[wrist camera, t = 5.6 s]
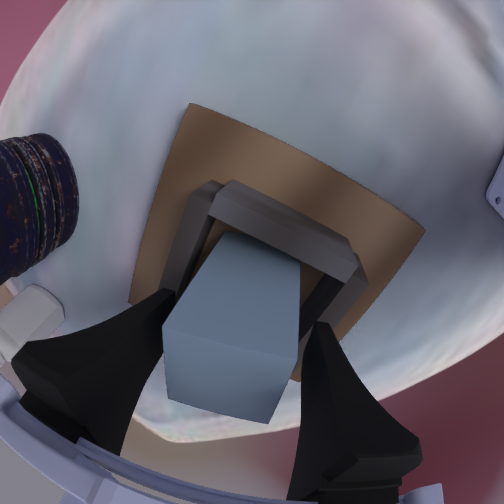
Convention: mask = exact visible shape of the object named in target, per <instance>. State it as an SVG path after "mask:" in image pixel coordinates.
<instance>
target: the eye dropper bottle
mask: <svg viewBox="0 0 504 504" xmlns="http://www.w3.org/2000/svg"><path fill="white" fill-rule="evenodd" d="M63 321H64V312H63V307H62V305H61V304H60V302H59V301H58V300H57V299H56V298H55V297H54V296H53V295H52V294H50V293H49V292H48V291H46V290H45V289H43V288H41V287H39V286H37V285H29V286H28V287H26V288H25V289H24V290H23V291H22V292H20V293H19V294H18V295H17V296H16V297H15V298H13V299H12V300H11V301H10V302H9V303H8V304H7V305H6V306H4V307H3V308H2V309H1V310H0V367H1V366H2V365H3V364H4V362H5V361H4V360H7V361H9V362H11V359H12V358H13V357H14V355H15V354H16V353H17V352H18V351H19V350H20V349H21V348H22V347H23V345H24V344H25V343H26V342H27V341H34V340H42V339H48V338H49V336H50V335H51V334H52V333H53V332H54V331H55V330H56V329H57V328H58V327H59V326H60V325H61V324H62V323H63Z"/></svg>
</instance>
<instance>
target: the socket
mask: <svg viewBox="0 0 504 504" xmlns="http://www.w3.org/2000/svg"><path fill="white" fill-rule="evenodd" d="M225 231H231V232H235V233H240V234H245V235H249V236H253V237H255V238H257V239H259V240H261V241H263V242H265V243H267V244H269V245H271V246H273V247H275V248H277V249H279V250H281V251H283V252H285V253H287V254H289V255H291V256H293V257H295V258H297V259H299V260H300V302H299V333H298V356H297V362H296V364H295V366H294V369H293V371H292V373H291V376H290V378H289V379H292V380H294V381H297V382H300V381H301V368H302V359H303V352H304V350H305V347H306V344H307V342H308V339H309V336H310V334H311V331H312V328H313V326H314V323H315V321H320V322H326V323H329V324H330V326H331V328H332V330H333V332H334V334H335V336H336V338H337V340H338V342H339V341H340V340H341V339H342V338H343V337H344V336H345V335H346V334H347V333H348V331H349V330H350V329H351V328H352V327H353V326H354V325H355V323H356V322H357V321H358V320H359V319H360V318H361V317H362V315H363V314H364V313H365V312H366V311H367V309H368V308H369V307H370V306H371V305H372V303H373V302H374V301H375V300H376V298H377V297H378V296H379V295H380V293H381V292H382V291H383V290H384V288H385V287H386V286H387V284H388V283H389V282H390V281H391V279H392V278H393V277H394V275H395V274H396V273H397V271H398V270H399V269H400V267H401V266H402V264H403V263H404V262H405V260H406V259H407V257H408V256H409V255H410V253H411V252H412V250H413V249H414V247H415V246H416V245H417V243H418V242H419V240H420V239H421V237H422V236H423V234H424V233H425V231H426V230H425V229H424V228H423V227H422V226H421V225H420V224H419V223H417V222H416V221H415V220H413V219H412V218H410V217H409V216H408V215H406V214H405V213H403V212H402V211H400V210H399V209H398V208H396V207H395V206H393V205H392V204H390V203H389V202H387V201H386V200H384V199H383V198H381V197H380V196H378V195H376V194H375V193H373V192H372V191H370V190H369V189H367V188H365V187H364V186H362V185H361V184H359V183H357V182H356V181H354V180H352V179H351V178H349V177H347V176H346V175H344V174H342V173H340V172H339V171H337V170H335V169H334V168H332V167H330V166H328V165H326V164H325V163H323V162H321V161H319V160H317V159H316V158H314V157H312V156H310V155H308V154H306V153H304V152H302V151H300V150H299V149H297V148H295V147H293V146H291V145H289V144H287V143H285V142H283V141H281V140H279V139H277V138H274V137H272V136H270V135H268V134H266V133H264V132H262V131H260V130H257V129H255V128H253V127H251V126H249V125H246V124H244V123H242V122H239V121H237V120H235V119H232V118H230V117H228V116H225V115H223V114H220V113H218V112H215V111H213V110H210V109H208V108H205V107H203V106H200V105H197V104H192V103H189V105H188V108H187V110H186V112H185V115H184V117H183V120H182V122H181V125H180V127H179V130H178V132H177V135H176V137H175V140H174V142H173V145H172V148H171V150H170V153H169V156H168V159H167V161H166V164H165V167H164V170H163V173H162V176H161V179H160V182H159V185H158V188H157V191H156V194H155V197H154V201H153V204H152V207H151V210H150V214H149V217H148V221H147V224H146V228H145V231H144V235H143V239H142V243H141V247H140V250H139V254H138V259H137V263H136V267H135V271H134V276H133V280H132V285H131V290H130V294H129V299H128V303H130V304H132V305H133V306H134V305H136V304H137V303H139V302H141V301H142V300H144V299H146V298H147V297H149V296H150V295H152V294H154V293H155V292H157V291H158V290H160V289H162V288H166V289H170V290H174V291H176V304H177V302H178V301H179V299H180V298H181V296H182V295H183V293H184V292H185V290H186V289H187V287H188V286H189V284H190V283H191V281H192V280H193V278H194V277H195V275H196V274H197V272H198V271H199V269H200V268H201V266H202V265H203V264H204V262H205V261H206V259H207V258H208V256H209V255H210V253H211V252H212V250H213V249H214V247H215V246H216V244H217V243H218V242H219V240H220V239H221V237H222V236H223V234H224V233H225Z"/></svg>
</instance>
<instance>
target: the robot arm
mask: <svg viewBox="0 0 504 504" xmlns="http://www.w3.org/2000/svg"><path fill="white" fill-rule="evenodd" d="M496 198H497V201H496V202H495V200H496ZM486 199H487V201H488V202H489V203H490V204H491V205H492V206H493V207H494V209H495V210H496V211H497V212H498V213H499V214H500V215H501V217H502V218H503V219H504V156H503V158H502V160H501V163H500V165H499V167H498V169H497V171H496V173H495V175H494V178H493V180H492V182H491V184H490V186H489V188H488V189H487V192H486ZM175 306H176V291H174V290H170V289H166V288H162V289H160V290H158V291H157V292H155V293H154V294H152V295H150V296H149V297H147V298H146V299H144V300H142V301H141V302H139V303H137V304H136V305H134V306H132V307H131V308H129V309H127V310H125V311H123V312H122V313H120V314H118V315H116V316H114V317H112V318H110V319H108V320H106V321H104V322H102V323H99V324H97V325H94V326H92V327H89V328H87V329H83V330H80V331H77V332H74V333H71V334H67V335H63V336H59V337H54V338H49V339H42V340H34V341H27V342H26V343H25V344H24V345H23V347H22V348H21V349H20V350H19V351H18V352H17V353H16V354H15V355H14V357H13V358H12V359H11V365H12V368H13V369H14V371H15V373H16V374H17V376H18V377H19V379H20V381H21V382H22V384H23V385H24V387H25V388H26V390H27V391H26V392H25V394H24V395H23V396H22V397H21V396H20V395H19V393H18V391H17V390H16V388H15V387H14V386H13V385H12V384H11V383H10V382H9V381H8V380H7V379H6V378H5V377H3V376H2V375H1V374H0V438H1V439H2V440H3V441H4V442H5V443H6V444H7V445H8V446H9V447H11V448H12V449H13V450H14V451H15V452H16V453H17V454H18V455H19V456H21V457H22V458H23V459H24V460H25V461H27V462H28V463H29V464H30V465H31V466H33V467H34V468H35V469H36V470H38V471H39V472H40V473H42V474H43V475H44V476H46V477H47V478H48V479H50V480H51V481H52V482H54V483H55V484H57V485H58V486H60V487H61V488H63V489H64V490H66V492H65V493H64V495H63V497H62V499H61V501H60V503H59V504H177V503H174V502H171V501H168V500H165V499H162V498H159V497H156V496H153V495H151V494H148V493H145V492H142V491H140V490H137V489H135V488H132V487H129V486H127V485H125V484H122V483H120V482H119V481H118V480H116V479H115V478H114V477H113V476H112V474H111V473H110V472H108V471H106V470H105V469H107V470H109V471H111V472H113V473H115V474H117V475H120V476H122V477H124V478H126V479H128V480H131V481H133V482H135V483H138V484H140V485H143V486H145V487H148V488H150V489H153V490H156V491H158V492H161V493H164V494H167V495H170V496H173V497H176V498H180V499H183V500H186V501H190V502H193V503H197V504H444V501H443V492H442V484H441V483H438V484H434V485H430V486H425V487H421V488H418V489H415V490H412V491H410V492H408V493H407V494H405V495H403V496H399V494H398V487H399V486H401V485H402V478H401V477H403V476H404V475H406V474H407V473H409V472H410V471H412V470H413V469H415V468H416V467H417V466H419V465H420V463H421V462H422V459H423V458H422V450H421V445H420V441H419V438H418V437H417V436H415V435H414V434H413V433H411V432H410V431H409V430H407V429H406V428H405V427H403V426H402V425H401V424H400V423H399V422H397V421H396V420H395V419H394V418H393V417H392V416H391V415H390V414H389V413H388V412H387V411H386V410H385V409H384V408H383V407H382V406H381V405H380V404H379V403H378V402H377V400H376V399H375V398H374V397H373V396H372V395H371V393H370V392H369V391H368V390H367V388H366V387H365V386H364V384H363V383H362V382H361V380H360V379H359V377H358V376H357V374H356V373H355V371H354V369H353V368H352V366H351V364H350V363H349V361H348V359H347V357H346V355H345V354H344V352H343V350H342V348H341V346H340V344H339V342H338V340H337V338H336V336H335V334H334V332H333V330H332V328H331V326H330V324H329V323H326V322H320V321H315V323H314V326H313V328H312V331H311V334H310V336H309V339H308V342H307V344H306V347H305V350H304V352H303V359H302V368H301V424H300V432H299V439H298V445H297V452H296V458H295V463H294V468H293V473H292V478H291V482H290V486H289V491H288V494H287V498H286V500H277V499H268V498H259V497H253V496H246V495H240V494H235V493H230V492H225V491H220V490H216V489H212V488H208V487H204V486H199V485H196V484H192V483H189V482H185V481H182V480H179V479H176V478H173V477H170V476H167V475H163V474H161V473H158V472H155V471H153V470H150V469H147V468H145V467H142V466H140V465H137V464H135V463H132V462H130V461H128V460H126V459H123V458H121V457H119V456H120V452H121V449H122V445H123V441H124V438H125V435H126V432H127V429H128V426H129V423H130V420H131V417H132V414H133V412H134V409H135V407H136V404H137V401H138V399H139V397H140V394H141V392H142V390H143V387H144V385H145V383H146V381H147V379H148V378H149V376H150V374H151V373H152V371H153V369H154V367H155V366H156V364H157V362H158V361H159V359H160V357H161V356H162V354H163V352H164V350H163V334H162V326H163V324H164V322H165V321H166V319H167V318H168V316H169V315H170V313H171V312H172V310H173V309H174V307H175ZM98 465H99V466H98ZM100 466H101V467H103V468H105V469H103V468H101V467H100Z"/></svg>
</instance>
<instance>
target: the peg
mask: <svg viewBox="0 0 504 504" xmlns="http://www.w3.org/2000/svg"><path fill="white" fill-rule="evenodd" d="M299 302H300V260H299V259H297V258H295V257H293V256H291V255H289V254H287V253H285V252H283V251H281V250H279V249H277V248H275V247H273V246H271V245H269V244H267V243H265V242H263V241H261V240H259V239H257V238H255V237H253V236H249V235H245V234H240V233H235V232H231V231H225V233H224V234H223V236H222V237H221V239H220V240H219V242H218V243H217V244H216V246H215V247H214V249H213V250H212V252H211V253H210V255H209V256H208V258H207V259H206V261H205V262H204V264H203V265H202V266H201V268H200V269H199V271H198V272H197V274H196V275H195V277H194V278H193V280H192V281H191V283H190V284H189V286H188V287H187V289H186V290H185V292H184V293H183V295H182V296H181V298H180V299H179V301H178V302H177V304H176V306H175V307H174V309H173V310H172V312H171V313H170V315H169V316H168V318H167V319H166V321H165V322H164V324H163V326H162V334H163V350H164V363H165V375H166V385H167V395H168V399H171V400H174V401H177V402H180V403H184V404H187V405H190V406H193V407H197V408H200V409H204V410H207V411H211V412H215V413H219V414H223V415H227V416H231V417H235V418H240V419H244V420H249V421H254V422H259V423H264V424H269V422H270V420H271V417H272V415H273V413H274V411H275V409H276V407H277V405H278V403H279V400H280V398H281V396H282V394H283V392H284V389H285V387H286V385H287V383H288V380H289V378H290V376H291V373H292V371H293V369H294V366H295V364H296V362H297V356H298V333H299Z"/></svg>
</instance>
